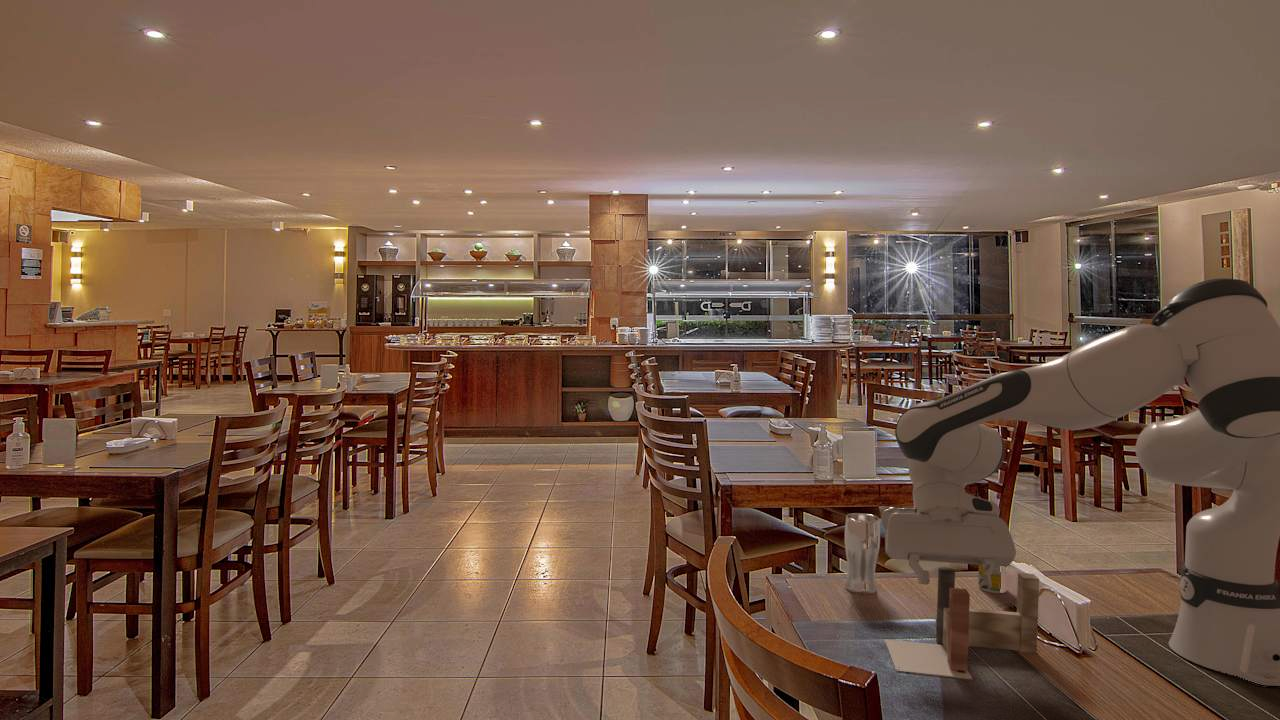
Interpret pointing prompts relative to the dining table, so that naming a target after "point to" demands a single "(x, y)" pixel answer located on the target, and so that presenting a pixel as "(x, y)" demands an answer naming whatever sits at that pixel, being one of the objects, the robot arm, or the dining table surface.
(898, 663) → the card
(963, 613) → the fence gate
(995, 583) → the supplement bottle
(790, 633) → the dining table surface
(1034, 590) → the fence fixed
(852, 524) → the beer glass
